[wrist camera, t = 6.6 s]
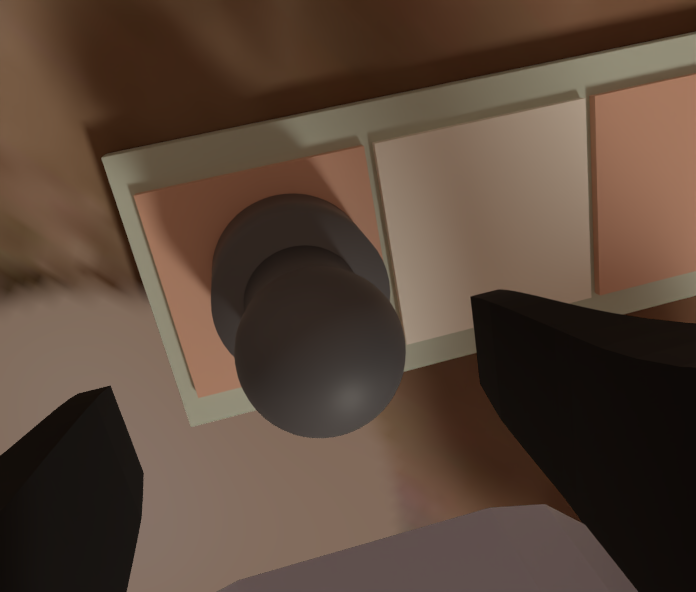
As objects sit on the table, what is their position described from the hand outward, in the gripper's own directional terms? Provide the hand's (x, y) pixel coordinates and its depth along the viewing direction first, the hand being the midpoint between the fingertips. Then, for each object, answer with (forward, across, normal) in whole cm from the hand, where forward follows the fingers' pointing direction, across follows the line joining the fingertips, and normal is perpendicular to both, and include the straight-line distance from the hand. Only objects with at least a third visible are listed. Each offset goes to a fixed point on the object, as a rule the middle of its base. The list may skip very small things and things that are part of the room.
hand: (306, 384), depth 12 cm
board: (+8, -10, 0) cm, 13 cm away
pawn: (+6, 0, 0) cm, 6 cm away
